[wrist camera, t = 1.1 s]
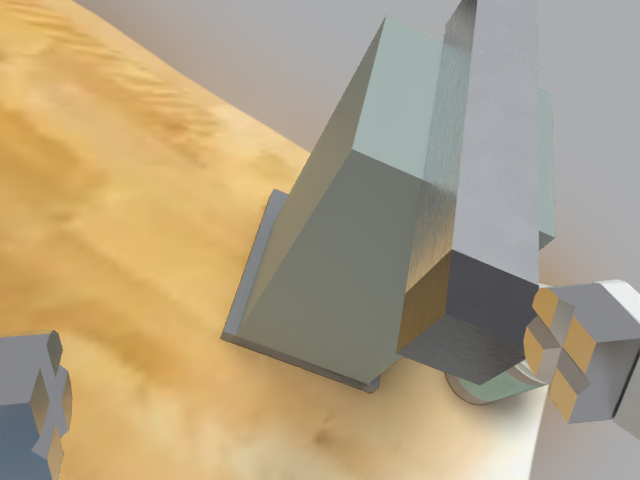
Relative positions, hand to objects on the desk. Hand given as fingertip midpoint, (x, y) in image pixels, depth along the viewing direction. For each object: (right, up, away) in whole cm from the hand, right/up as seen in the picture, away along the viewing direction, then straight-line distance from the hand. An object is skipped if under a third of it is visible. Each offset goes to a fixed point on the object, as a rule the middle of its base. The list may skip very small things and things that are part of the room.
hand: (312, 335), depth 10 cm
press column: (0, -3, +46) cm, 46 cm away
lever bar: (+8, +6, +22) cm, 24 cm away
